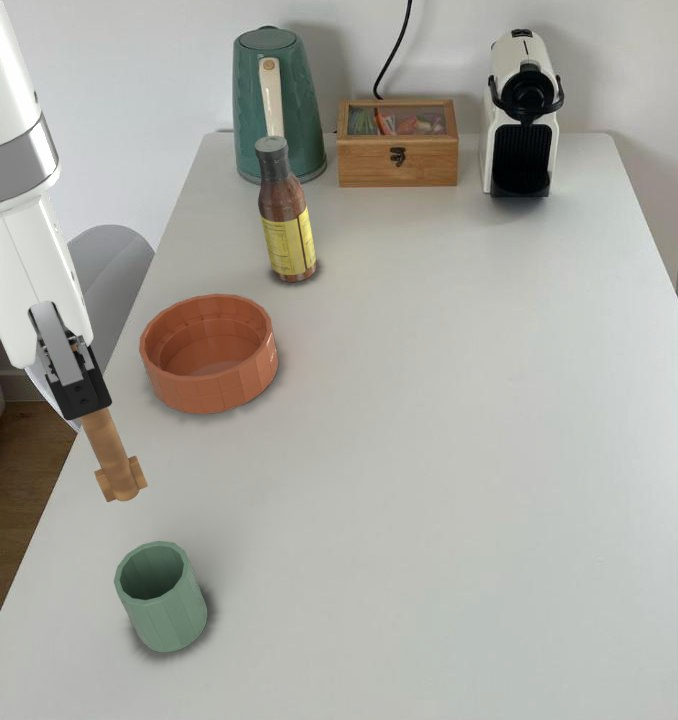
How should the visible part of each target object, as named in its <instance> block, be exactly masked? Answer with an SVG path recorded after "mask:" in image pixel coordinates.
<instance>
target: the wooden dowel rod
mask: <svg viewBox="0 0 678 720" xmlns="http://www.w3.org/2000/svg"><path fill="white" fill-rule="evenodd" d="M70 346H71V349H72V351H76V350H77V351H78V349H77V347H76V344H73V345H70ZM78 352H79V351H78ZM78 419H79V422H80V424H81V426H82V428H83V430H84V433H85V436H86V437H87V440H88V442H89V444H90V447H91V449H92V450H93V453H94V455H95V457H96V460H97V462H98V464H99V467H100V468H99V469H97V470H94V471H93V474H94V477H95V480H96V481H97V483H98V486H99V488H100V490H101V493H102V495H103V496H104V499H105V501H106V502H107V503H111V502H113V501H115V500H117V501H118V502H128V501H131V500H133V499H135V498H136V497H137V496H138V494H139V493H140V490H142V489H145V488H148V486H149V484H148V482H147V480H146V477H145V474H144V471H143V468H142V467H141V465H140V461H139V459H138V456H137V455H132V456H130V457H128V455H127V452H126V450H125V447H124V445H123V442H122V439H121V437H120V435H119V432H118V431H117V430H118V429H117V427H116V425H115V422H114V420H113V417H112V416H111V413H110V410H109V407H106V408H104V409H101V410H98V411H95V412H93V413H90V414H87V415H84V416H82V417H79V418H78Z"/></svg>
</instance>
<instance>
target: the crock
mask: <svg viewBox="0 0 678 720" xmlns="http://www.w3.org/2000/svg"><path fill="white" fill-rule="evenodd" d="M113 585H114V588H115V591H116V594H117V596H118V598H119V601H120V602H121V604H122V606H123V608H124V610H125V612H126V615H127V617H128V618H129V621H131V624H132V626H133V628H134V630H135V632H136V634H137V636H138V638H139V640H141V641H142V644H144V645H145V646H146V647H147V648H149V649H150V650H152V651H155V652H159V653H172V652H177V651H180V650H182V649H184V648H186V647H188V646H190V645H191V644H192V643H194V642H195V641H196V640H197V639H198V638H199V637H200V635H201V634H202V633H203V631H204V630H205V628H206V624H207V622H208V607H207V603H206V602H205V599H204V596H203V594H202V591H201V588H200V585H199V582H198V581H197V578H196V575H195V572H194V570H193V567H192V564H191V562H190V559H189V556H188V554H187V552H186V550H185V549H184V548H183V547H181V546H180V545H178V544H177V543H175V542H172V541H165V540H155V541H151V542H146V543H143V544H140V545H139V546H137V547H136V548H134V549H132V550H130V552H128V553H127V554H126V555H125V556H124V557H123V559H122V560H121V561H120V562H119V564H118V565H117V567H116V570H115V574H114V578H113Z"/></svg>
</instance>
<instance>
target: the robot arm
mask: <svg viewBox="0 0 678 720" xmlns="http://www.w3.org/2000/svg"><path fill="white" fill-rule="evenodd" d="M62 170H63V165H62V162H61V158H60V155H59V154H58V151H57V147H56V145H55V143H54V140H53V136H52V134H51V131H50V128H49V126H48V123H47V120H46V118H45V114H44V112H43V109H42V106H41V103H40V101H39V97H38V95H37V92H36V89H35V86H34V84H33V80H32V79H31V76H30V73H29V69H28V66H27V65H26V61H25V58H24V55H23V53H22V50H21V47H20V45H19V42H18V38H17V36H16V33H15V30H14V28H13V24H12V22H11V19H10V15H9V13H8V11H7V8H6V5H5V3H4V0H0V341H1V343H2V346H3V349H4V350H5V353H6V355H7V357H8V360H9V362H10V365H11V366H13V367H14V368H16V369H19V370H23V369H25V368H26V367H30V366H33V365H35V363H36V356H38V358H39V360H40V363H41V365H42V366H43V367H42V368H43V369H44V371H45V373H46V374H44V378H45V380H46V382H47V384H48V386H49V389H50V391H51V393H52V395H53V398H54V400H55V403H56V404H57V406H58V408H59V410H60V412H61V414H62V417H63V419H64V420H66V421H74V420H76V419H79V417H82V416H84V415H87V414H90V413H93V412H95V411H98V410H101V409H104V408H106V407H107V408H109V407H111V405H112V404H113V399H112V397H111V394H110V392H109V390H108V387H107V385H106V381H105V379H104V375H103V374H102V371H101V368H100V366H99V364H98V363H99V362H98V361H97V359H96V355H95V353H94V351H93V348H92V346H91V344H92V342H93V340H94V337H95V336H94V333H93V328H92V326H91V321H90V317H89V313H88V310H87V307H86V303H85V299H84V296H83V292H82V288H81V285H80V282H79V278H78V274H77V271H76V267H75V265H74V261H73V259H72V256H71V252H70V250H69V247H68V244H67V241H66V238H65V236H64V233H63V230H62V228H61V225H60V222H59V219H58V216H57V213H56V210H55V208H54V204H53V202H52V199H51V197H50V194H49V192H48V191H49V189H51V187H52V186H54V185H55V183H56V182H57V181H58V180H59V178H60V175H61V174H62ZM73 344H76V347H77V349H78V351H79V352H78V351H77V350H76V351H72V349H71V346H70V345H73ZM36 354H37V355H36Z"/></svg>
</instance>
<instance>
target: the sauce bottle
mask: <svg viewBox="0 0 678 720" xmlns="http://www.w3.org/2000/svg"><path fill="white" fill-rule="evenodd" d="M289 150H290V148H289V144H288V142H287V139H286V138H285V137H283V136H281V135H266V136H263V137H260V138H259V139H257V140H256V141H255V142H254V153H255V157H257V159H258V164H259V169H260V172H259V173H260V190H259V193H258V198H257V208H258V212H259V215H260V221H261V225H262V229H263V234H264V239H265V244H266V248H267V253H268V257H269V262H270V266H271V269H273V274H274V275H275V277H276V278H277V279H279V280H281V281H283V282H287V283H297V282H301V281H304V280H307V279H309V278H310V277H312V276H313V275H314V273H315V272H316V269H317V262H316V259H317V257H316V251H315V246H314V245H315V244H314V239H313V234H312V233H313V232H312V228H311V221H310V217H309V211H308V205H307V201H306V199H305V192H304V189H303V186H302V185H301V182H300V179H299V178H298V177H297V176H296V175H295V174H294V172H293V171H292V167H291V165H290V160H289Z"/></svg>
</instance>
